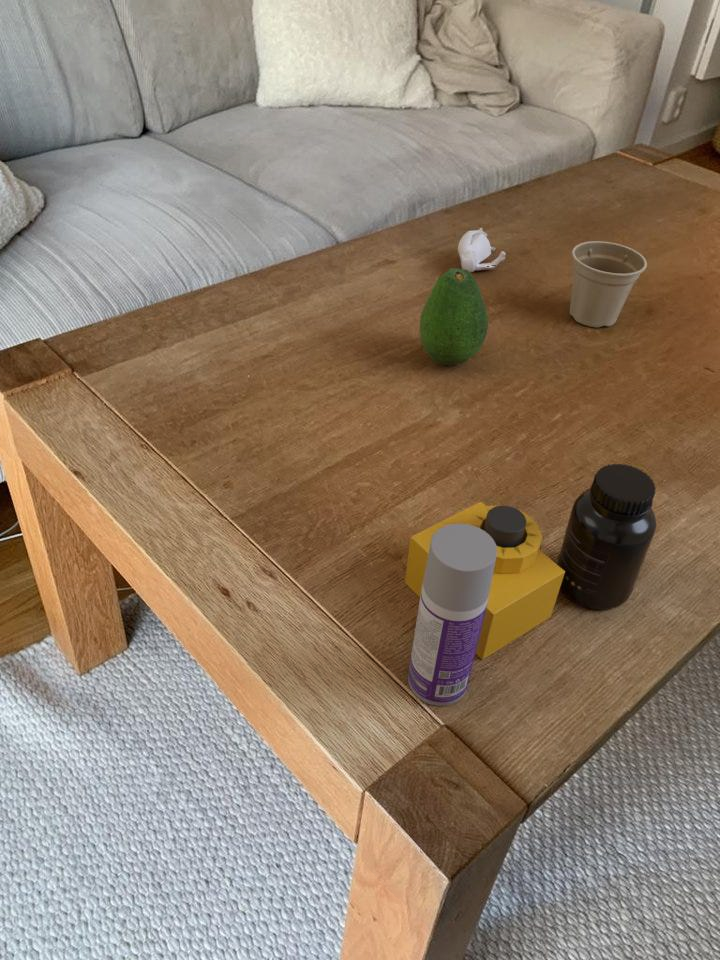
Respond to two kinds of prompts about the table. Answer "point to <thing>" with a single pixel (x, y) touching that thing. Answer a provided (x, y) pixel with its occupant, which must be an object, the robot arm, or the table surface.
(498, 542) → the dark grey push button
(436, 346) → the fruit
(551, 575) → the yellow knob cube
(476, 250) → the figurine
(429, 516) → the table surface
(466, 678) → the container
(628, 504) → the supplement bottle
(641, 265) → the flower pot
